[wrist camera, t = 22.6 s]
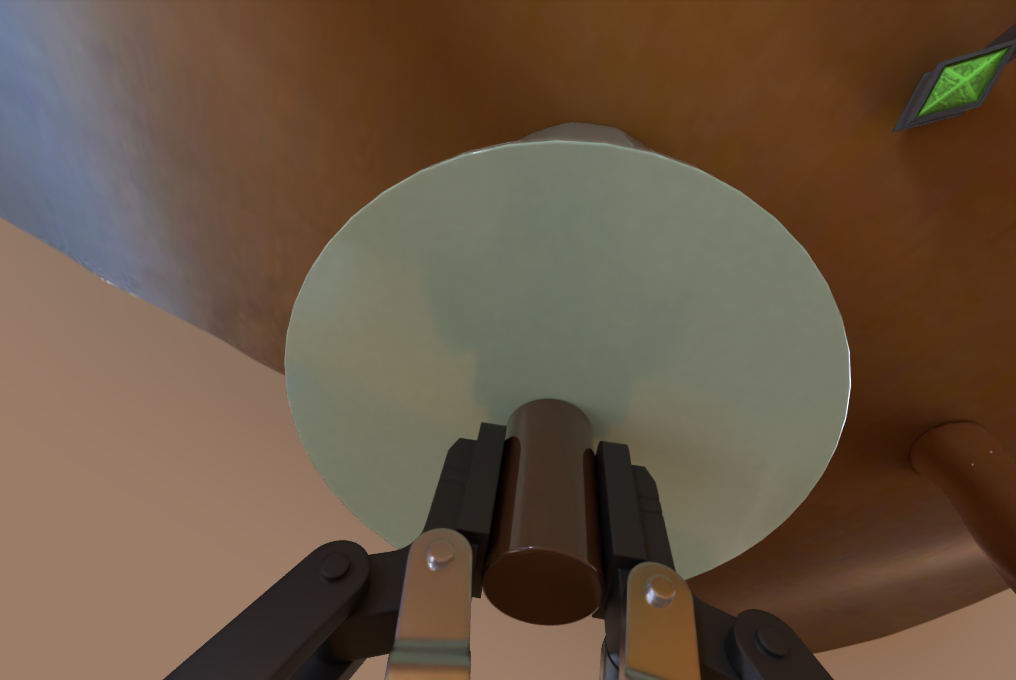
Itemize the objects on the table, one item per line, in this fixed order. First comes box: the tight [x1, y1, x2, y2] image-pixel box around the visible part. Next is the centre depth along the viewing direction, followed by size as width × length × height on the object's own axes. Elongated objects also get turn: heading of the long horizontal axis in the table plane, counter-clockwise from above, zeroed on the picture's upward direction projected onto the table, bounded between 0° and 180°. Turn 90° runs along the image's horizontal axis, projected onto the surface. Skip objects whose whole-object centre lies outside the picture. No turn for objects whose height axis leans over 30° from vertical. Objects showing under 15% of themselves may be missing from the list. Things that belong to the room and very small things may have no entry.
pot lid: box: [284, 138, 851, 626], centre depth 13 cm, size 16×16×6 cm
